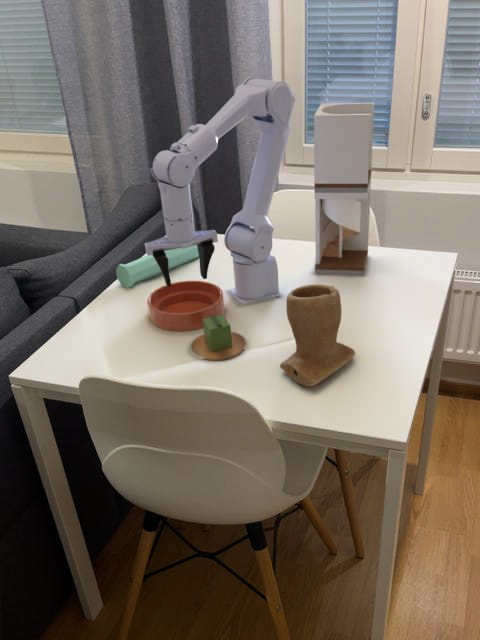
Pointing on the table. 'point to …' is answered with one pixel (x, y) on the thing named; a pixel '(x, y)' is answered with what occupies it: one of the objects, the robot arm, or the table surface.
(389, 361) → the table surface
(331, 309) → the stone cup
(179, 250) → the container
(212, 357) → the coaster
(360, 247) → the spiral staircase tower
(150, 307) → the bowl
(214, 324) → the green grooved block
